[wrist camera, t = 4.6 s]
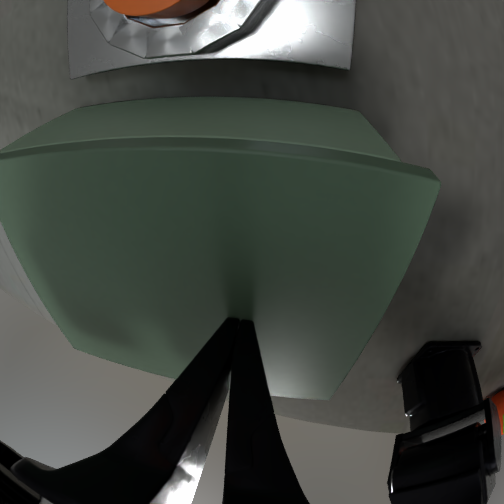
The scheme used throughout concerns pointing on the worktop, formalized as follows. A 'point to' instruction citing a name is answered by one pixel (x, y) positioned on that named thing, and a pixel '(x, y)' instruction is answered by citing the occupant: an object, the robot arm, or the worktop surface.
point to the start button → (155, 7)
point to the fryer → (214, 123)
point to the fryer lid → (215, 248)
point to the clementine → (500, 407)
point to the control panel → (212, 34)
